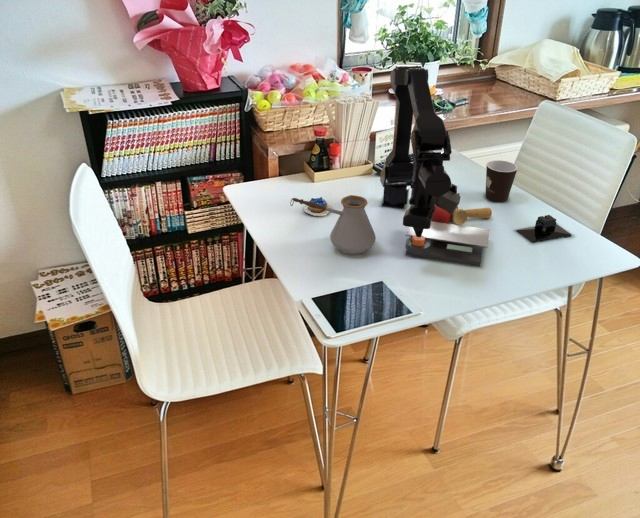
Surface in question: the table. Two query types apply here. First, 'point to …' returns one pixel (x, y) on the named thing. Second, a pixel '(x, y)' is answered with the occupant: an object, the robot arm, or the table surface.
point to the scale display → (459, 248)
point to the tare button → (418, 240)
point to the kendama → (460, 215)
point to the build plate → (544, 230)
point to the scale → (444, 252)
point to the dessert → (314, 210)
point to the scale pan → (454, 234)
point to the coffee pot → (349, 225)
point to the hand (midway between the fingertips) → (418, 236)
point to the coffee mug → (499, 180)
